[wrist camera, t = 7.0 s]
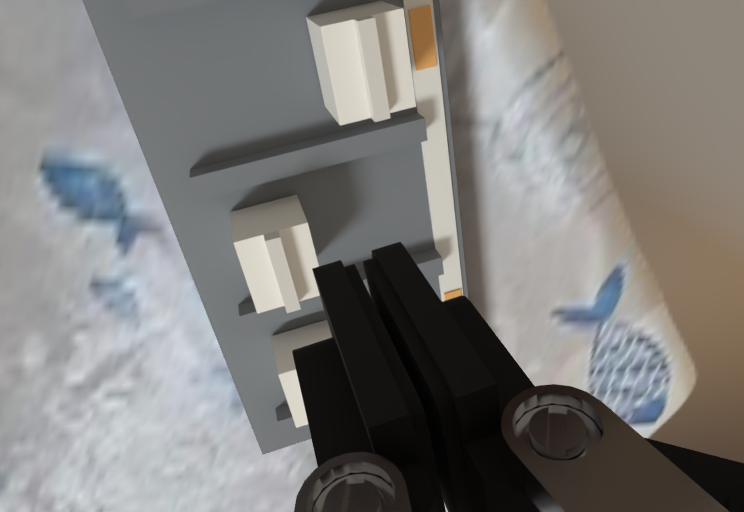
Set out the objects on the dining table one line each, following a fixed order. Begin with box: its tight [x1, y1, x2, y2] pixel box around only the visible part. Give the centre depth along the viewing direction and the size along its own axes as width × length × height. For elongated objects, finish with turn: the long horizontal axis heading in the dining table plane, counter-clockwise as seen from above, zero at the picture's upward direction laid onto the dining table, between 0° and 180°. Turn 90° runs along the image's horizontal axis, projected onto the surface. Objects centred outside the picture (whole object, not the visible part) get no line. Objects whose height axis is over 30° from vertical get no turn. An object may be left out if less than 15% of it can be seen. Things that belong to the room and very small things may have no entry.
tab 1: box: [230, 194, 320, 314], centre depth 24 cm, size 4×3×4 cm
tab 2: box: [271, 320, 332, 428], centre depth 28 cm, size 4×3×4 cm
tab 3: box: [306, 1, 416, 126], centre depth 22 cm, size 4×3×4 cm
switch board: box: [83, 0, 468, 454], centre depth 27 cm, size 26×13×3 cm, turn 10°
